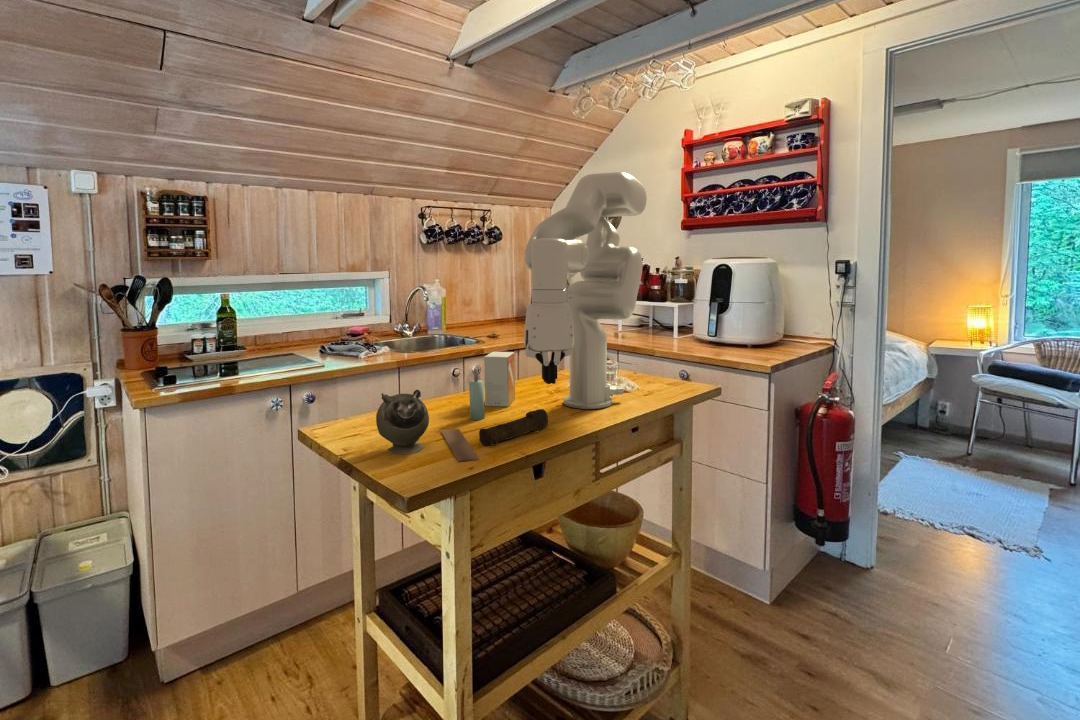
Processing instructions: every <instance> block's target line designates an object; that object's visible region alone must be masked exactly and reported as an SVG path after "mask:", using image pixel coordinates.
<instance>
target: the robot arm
mask: <svg viewBox="0 0 1080 720" xmlns="http://www.w3.org/2000/svg"><path fill="white" fill-rule="evenodd" d="M646 205H647V191H646V188H645V187H644V184H642V182H640V181H639V180H638V179H637V178H635V176H633V175H631V174H629V173H628V172H627V173H626V172H622V171H617V172H616V171H615V172H614V171H613V172H601V173H599V172H598V173H589V174H587V175H583V177H581V178H580V179H579V180H578V182H577V183H576V186H575V187H574V190H573V192H572V193H571V196H570V198H569V200H568V201H567V204H566V206H565V207H563V208H562V209H560V210H558V211H557V212H554V214H552V215H550V216H548V217H547V218H545V219H543V220H541V222H539V224H537V226H535V228H534V229H533V232H532V234H531V235H530V236H529V237H530V238H529V239H528V242H527V244H526V245H525V251H524V262H525V265H526V267H527V268H528V269H529V270H530V271H531V303H528V304H527V308H526V314H525V321H524V331H523V332H524V333H523V334H524V335H523V337H524V338H523V342H524V343H523V344H524V347H525V353H524V355H525V357H527V358H532V359H536V361H538V362H539V364H541V379H542V380H543V383H545V384H547V385H551V384H552V385H555V384H556V381H557V379H558V365H560V362H561V361H562V360H563V359H564V358H565V357H569V395H567V396H565V397H564V398H563V404H564V405H565V406H567V407H570V408H574V409H582V410H595V409H596V410H598V409H603V408H607V407H610V406H611V405H612V404H613V398H612V397H613V396H614V395H617V396H618V395H623V394H624V393H625V390H624V387H623V386H618V387H615V386H610V385H608V384H607V378H608V377H607V376H608V374H607V373H608V372H607V371H608V370H607V366H608V365H607V362H608V361H607V355H608V354H607V353H608V352H607V351H608V349H607V348H608V338H607V333H606V330H605V328H604V327H603V325H602V324H601V323H600V320H612V321H613V320H614V321H615V320H618V321H622V320H624V321H625V320H627V319H629V318H631V317H632V315H633V313H634V311H635V308H636V304H637V299H638V298H637V297H638V294H639V289H640V283H641V280H642V276H643V275H642V273H643V257H642V254H641V252H640V250H638V249H637V248H635V247H632V246H619V244H620V242H621V241H620V240H621V239H620V234H619V232H618V231H617V229H616V227H614V225H613V224H612V223H611V222H610V221H609V220H607V218H608V217H609V218H611V217H614V218H615V217H634V216H635V217H636V216H637V217H638V216H639V215H641V214H642V213H643V212H644V210H645V209H646ZM584 235H587V238H586V243H585V241H583V240H582V239H579V237H583V236H584ZM577 273H579V274H580V277H581V279H582V280H579V281H574V282H573V283H571V284H570V285H569V286H568V274H577ZM549 352H550V359H549Z"/></svg>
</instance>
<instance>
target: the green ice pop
mask: <svg viewBox="0 0 1080 720" xmlns="http://www.w3.org/2000/svg"><path fill="white" fill-rule="evenodd" d="M473 372H474V373H473V374H474V377H473V379H472V380H469V382H468V390H469V418H470V420H471V421H472V420H473V421H481V420H484V419H485V382H484V380H481V379H479V374H478V368H474V369H473Z"/></svg>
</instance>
